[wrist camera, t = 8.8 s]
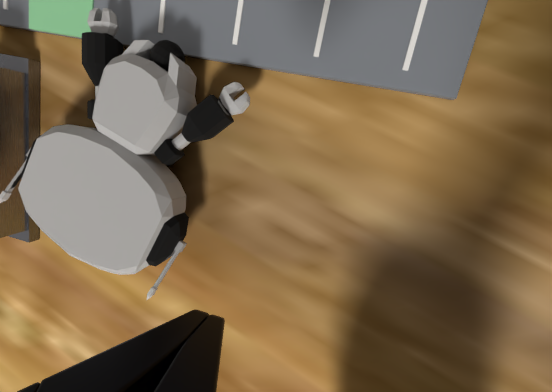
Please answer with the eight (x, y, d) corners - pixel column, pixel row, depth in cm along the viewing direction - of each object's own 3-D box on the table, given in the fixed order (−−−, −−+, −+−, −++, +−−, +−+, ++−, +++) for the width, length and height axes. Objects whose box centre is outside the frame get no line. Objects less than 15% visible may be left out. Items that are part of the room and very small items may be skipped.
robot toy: (123, 18, 19) (50, 199, 22) (64, -24, 15) (-18, 209, 18) (272, 103, 18) (177, 281, 21) (257, 85, 14) (139, 313, 17)
